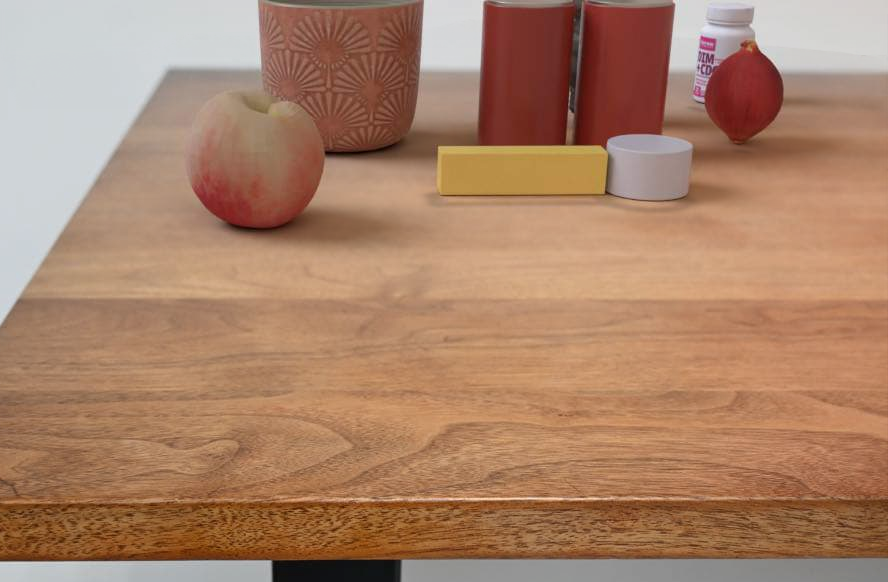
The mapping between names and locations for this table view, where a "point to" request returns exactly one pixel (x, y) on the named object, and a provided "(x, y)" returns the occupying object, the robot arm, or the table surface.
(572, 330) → the table surface
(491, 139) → the cans
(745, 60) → the onion
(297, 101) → the planter
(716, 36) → the pill bottle
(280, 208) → the fruit
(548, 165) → the white cylinder yellow bar
